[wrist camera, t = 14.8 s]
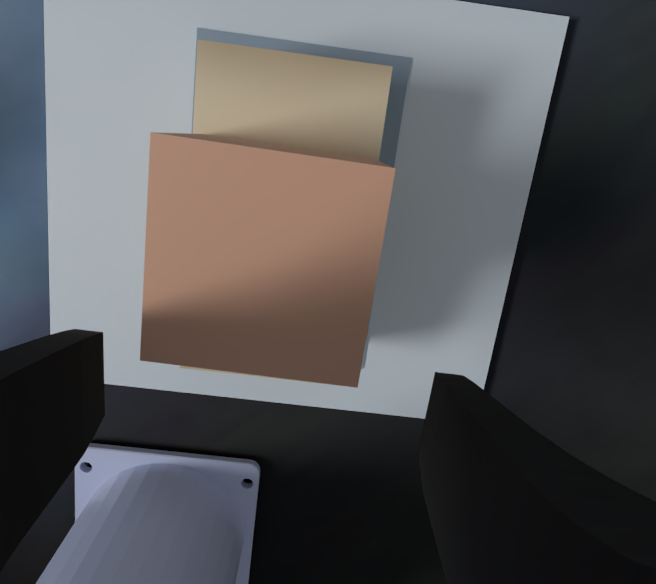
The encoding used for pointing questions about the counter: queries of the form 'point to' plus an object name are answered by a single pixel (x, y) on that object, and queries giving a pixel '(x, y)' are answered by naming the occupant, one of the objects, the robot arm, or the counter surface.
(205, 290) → the cube
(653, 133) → the counter surface
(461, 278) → the white flat plate
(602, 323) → the counter surface
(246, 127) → the slab
